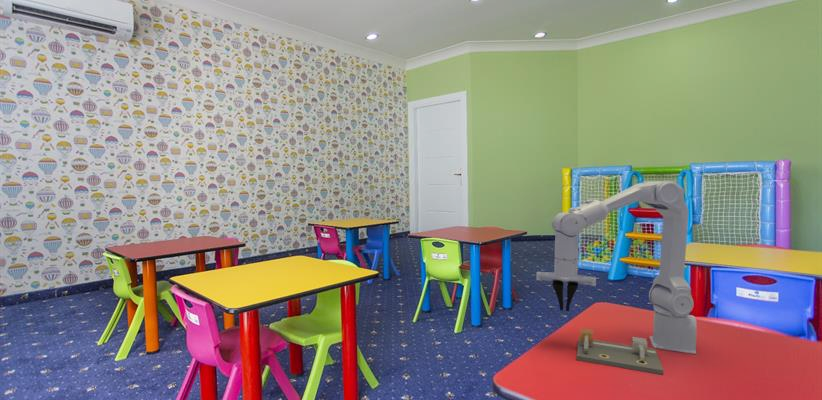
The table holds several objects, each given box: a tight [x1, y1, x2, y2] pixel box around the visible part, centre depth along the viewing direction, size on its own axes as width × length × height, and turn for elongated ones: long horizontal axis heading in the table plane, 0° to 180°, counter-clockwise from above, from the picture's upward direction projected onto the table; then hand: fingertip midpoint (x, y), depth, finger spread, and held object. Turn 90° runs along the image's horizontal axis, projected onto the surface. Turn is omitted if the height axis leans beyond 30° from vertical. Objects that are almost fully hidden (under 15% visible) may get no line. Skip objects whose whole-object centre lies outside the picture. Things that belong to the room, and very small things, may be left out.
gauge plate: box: [576, 337, 664, 375], centre depth 102 cm, size 18×13×2 cm
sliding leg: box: [579, 327, 594, 353], centre depth 104 cm, size 3×8×3 cm, turn 156°
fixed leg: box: [631, 336, 648, 362], centre depth 99 cm, size 3×8×3 cm, turn 156°
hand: (564, 309), depth 108 cm, fingers closed
